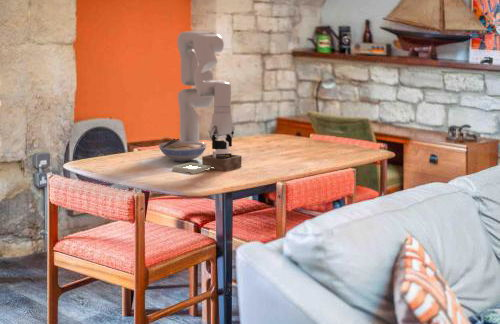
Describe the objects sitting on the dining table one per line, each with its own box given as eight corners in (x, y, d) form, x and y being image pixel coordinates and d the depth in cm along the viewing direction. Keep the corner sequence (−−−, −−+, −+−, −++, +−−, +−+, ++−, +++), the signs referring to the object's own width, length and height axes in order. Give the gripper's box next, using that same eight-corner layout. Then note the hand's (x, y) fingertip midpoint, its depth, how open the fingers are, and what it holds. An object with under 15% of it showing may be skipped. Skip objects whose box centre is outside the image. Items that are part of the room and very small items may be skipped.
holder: (219, 163, 352) (219, 152, 352) (241, 166, 345) (241, 155, 344) (202, 167, 342) (202, 156, 341) (224, 170, 335) (224, 159, 334)
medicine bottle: (215, 168, 340) (216, 142, 337) (212, 165, 346) (212, 139, 344) (231, 168, 341) (231, 141, 339) (227, 165, 348) (227, 139, 346)
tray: (190, 166, 344) (190, 162, 344) (210, 169, 337) (210, 165, 337) (172, 170, 335) (172, 166, 334) (193, 174, 328) (193, 169, 328)
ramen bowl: (199, 166, 344) (199, 148, 343) (151, 164, 349) (150, 146, 347) (213, 157, 368) (213, 140, 367) (167, 154, 373) (167, 138, 371)
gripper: (227, 107, 348) (227, 144, 351) (203, 110, 334) (203, 149, 337) (240, 108, 344) (240, 146, 347) (216, 112, 330) (216, 151, 333)
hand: (222, 147), depth 342 cm, fingers open, 9 cm apart
